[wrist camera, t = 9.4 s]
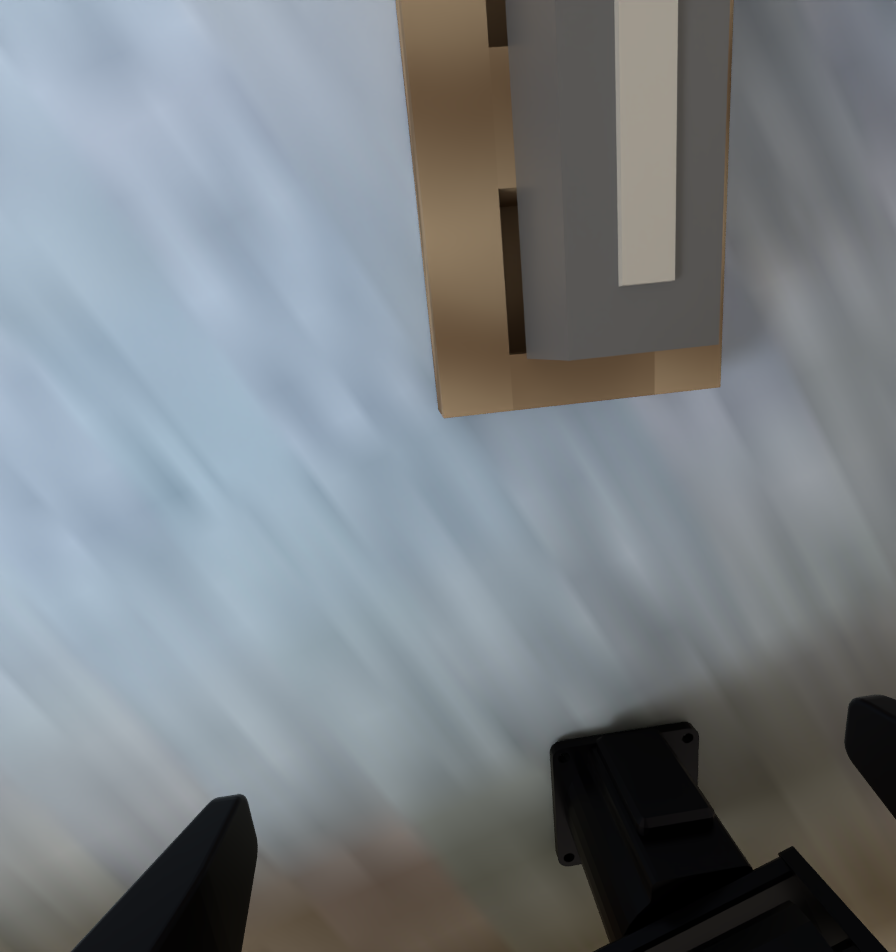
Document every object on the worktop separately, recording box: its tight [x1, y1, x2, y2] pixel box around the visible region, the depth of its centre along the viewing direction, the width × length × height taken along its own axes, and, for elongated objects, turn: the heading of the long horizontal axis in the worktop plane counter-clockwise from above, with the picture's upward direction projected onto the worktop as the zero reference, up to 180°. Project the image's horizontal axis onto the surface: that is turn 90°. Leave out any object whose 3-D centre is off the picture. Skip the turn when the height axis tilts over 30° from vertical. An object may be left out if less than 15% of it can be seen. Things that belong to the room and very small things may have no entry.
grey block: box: [505, 0, 730, 361], centre depth 13 cm, size 13×4×6 cm, turn 6°
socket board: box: [396, 0, 734, 418], centre depth 15 cm, size 16×9×2 cm, turn 6°
